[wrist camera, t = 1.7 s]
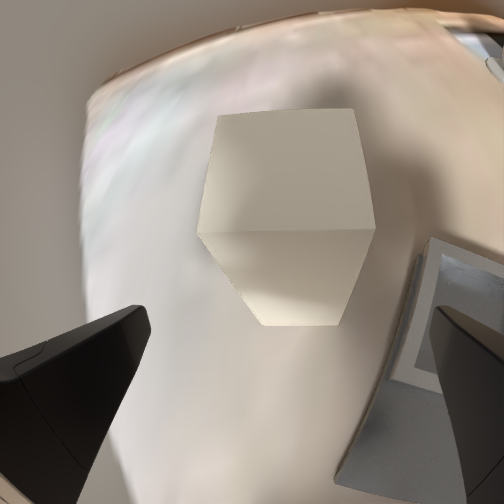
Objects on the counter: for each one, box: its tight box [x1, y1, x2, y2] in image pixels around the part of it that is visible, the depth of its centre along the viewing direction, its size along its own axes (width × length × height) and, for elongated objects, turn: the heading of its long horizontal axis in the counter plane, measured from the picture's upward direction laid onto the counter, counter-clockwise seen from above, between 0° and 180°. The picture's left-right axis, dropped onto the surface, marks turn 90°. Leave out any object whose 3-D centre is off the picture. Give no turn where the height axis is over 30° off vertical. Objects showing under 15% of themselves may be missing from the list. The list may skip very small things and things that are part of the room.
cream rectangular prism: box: [197, 108, 376, 326], centre depth 15 cm, size 5×5×13 cm
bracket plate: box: [334, 237, 504, 504], centre depth 15 cm, size 17×12×2 cm
